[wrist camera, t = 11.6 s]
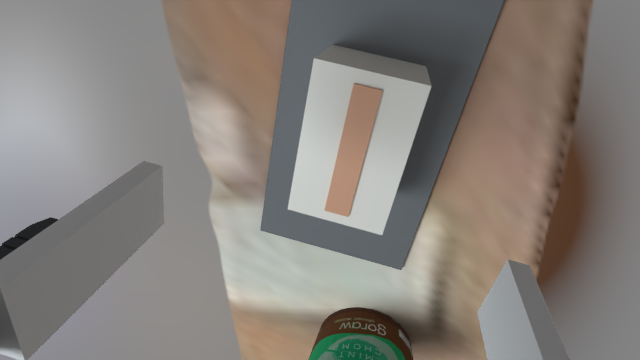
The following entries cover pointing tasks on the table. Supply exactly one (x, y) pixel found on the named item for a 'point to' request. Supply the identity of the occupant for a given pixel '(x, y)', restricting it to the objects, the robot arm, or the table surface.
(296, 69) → the mat
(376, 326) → the food container
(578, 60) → the table surface
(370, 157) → the white rectangular block
